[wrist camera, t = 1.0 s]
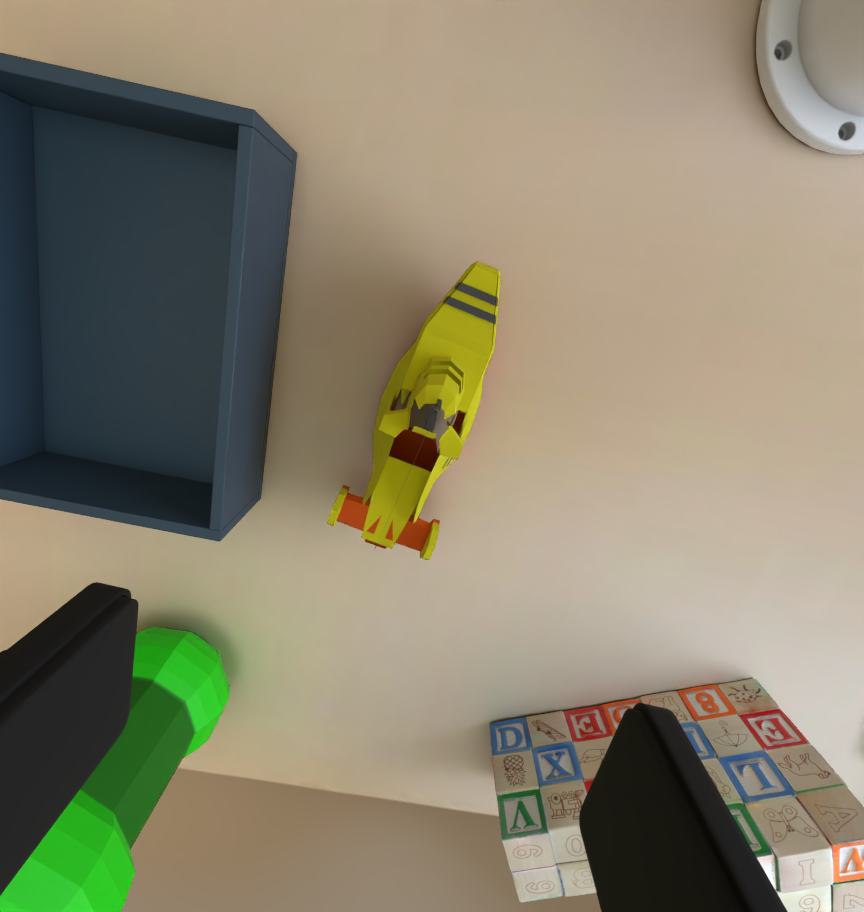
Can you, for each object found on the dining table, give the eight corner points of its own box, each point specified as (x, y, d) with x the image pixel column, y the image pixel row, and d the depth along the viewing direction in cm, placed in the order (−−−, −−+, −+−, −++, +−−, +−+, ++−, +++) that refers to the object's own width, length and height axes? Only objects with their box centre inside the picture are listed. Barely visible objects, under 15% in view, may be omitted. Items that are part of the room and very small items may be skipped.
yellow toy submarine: (339, 505, 35) (300, 582, 25) (432, 250, 30) (427, 225, 20) (423, 536, 35) (416, 622, 26) (529, 291, 30) (568, 286, 21)
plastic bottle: (105, 681, 40) (-397, 1242, 16) (143, 580, 37) (-403, 1084, 13) (221, 727, 41) (-88, 1315, 17) (266, 633, 38) (-30, 1184, 14)
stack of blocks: (502, 777, 42) (524, 961, 30) (487, 720, 40) (505, 892, 28) (760, 737, 40) (892, 918, 28) (757, 675, 38) (896, 841, 26)
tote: (28, 92, 28) (-95, 30, 21) (297, 152, 28) (255, 109, 22) (42, 455, 34) (-49, 490, 28) (260, 498, 35) (220, 542, 28)
